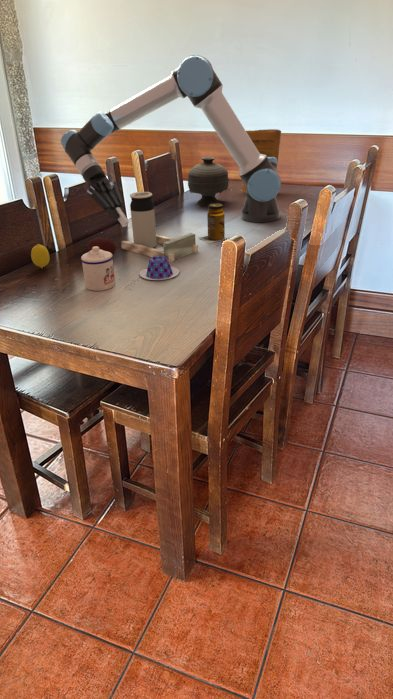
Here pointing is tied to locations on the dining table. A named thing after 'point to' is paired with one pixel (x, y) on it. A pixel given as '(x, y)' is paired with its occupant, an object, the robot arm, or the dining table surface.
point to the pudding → (159, 269)
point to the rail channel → (166, 247)
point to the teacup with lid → (98, 269)
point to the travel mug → (143, 219)
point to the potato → (102, 244)
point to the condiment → (215, 224)
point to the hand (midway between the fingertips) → (126, 224)
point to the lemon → (40, 255)
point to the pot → (208, 180)
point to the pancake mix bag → (265, 143)
